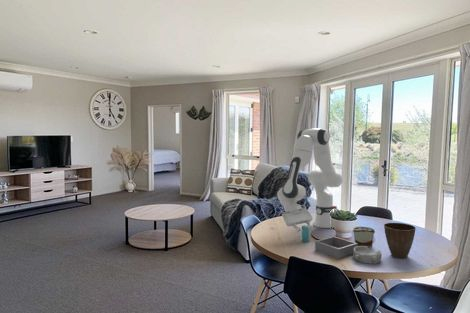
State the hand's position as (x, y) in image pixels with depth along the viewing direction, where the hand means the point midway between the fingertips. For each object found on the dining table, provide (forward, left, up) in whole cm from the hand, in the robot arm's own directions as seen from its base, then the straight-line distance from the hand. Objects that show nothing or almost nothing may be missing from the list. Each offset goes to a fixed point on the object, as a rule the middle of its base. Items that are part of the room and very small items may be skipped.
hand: (304, 229), depth 200 cm
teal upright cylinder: (0, +1, -7) cm, 7 cm away
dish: (-4, +40, -8) cm, 41 cm away
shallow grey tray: (-1, +23, -7) cm, 24 cm away
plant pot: (-22, +47, -7) cm, 52 cm away
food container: (-22, +25, -7) cm, 34 cm away
